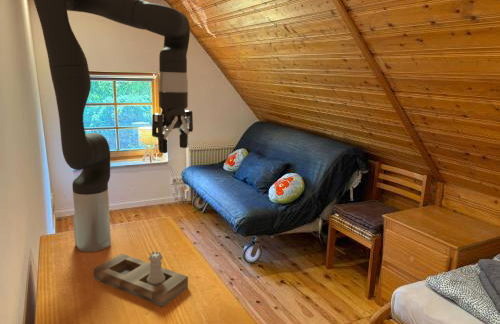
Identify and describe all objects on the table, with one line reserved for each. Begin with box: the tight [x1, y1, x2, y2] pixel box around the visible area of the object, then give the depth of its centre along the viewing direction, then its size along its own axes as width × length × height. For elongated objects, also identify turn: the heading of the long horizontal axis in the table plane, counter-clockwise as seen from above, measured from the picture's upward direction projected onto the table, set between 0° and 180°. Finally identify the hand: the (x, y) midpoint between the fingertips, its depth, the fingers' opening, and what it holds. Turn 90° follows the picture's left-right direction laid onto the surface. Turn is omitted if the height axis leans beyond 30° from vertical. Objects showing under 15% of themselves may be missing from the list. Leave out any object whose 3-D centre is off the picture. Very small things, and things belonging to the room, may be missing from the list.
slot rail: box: [93, 253, 189, 308], centre depth 89 cm, size 22×9×3 cm, turn 62°
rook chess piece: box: [147, 251, 165, 287], centre depth 86 cm, size 4×4×8 cm
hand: (173, 150), depth 100 cm, fingers open, 8 cm apart
